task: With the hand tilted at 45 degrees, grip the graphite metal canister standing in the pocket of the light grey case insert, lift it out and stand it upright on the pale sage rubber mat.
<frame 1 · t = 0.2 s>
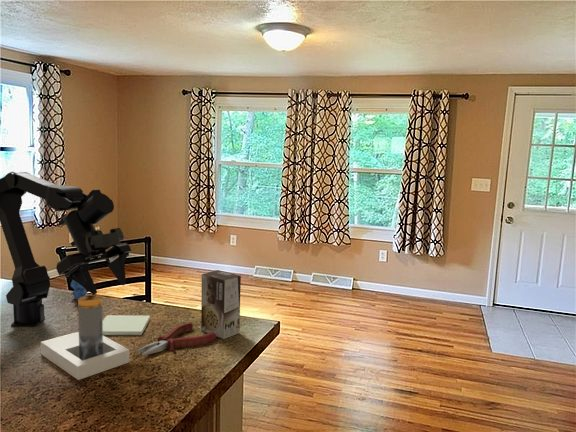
hand: (110, 289, 115), 14 cm above the worktop, tool tilted 35°, fingers open, 9 cm apart
case insert: (84, 358, 109), on the worktop
coffee box: (220, 332, 128), on the worktop
mat: (123, 326, 129), on the worktop
grapes: (82, 300, 150), on the worktop
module: (91, 362, 107), resting in case insert
pliers: (173, 344, 121), on the worktop
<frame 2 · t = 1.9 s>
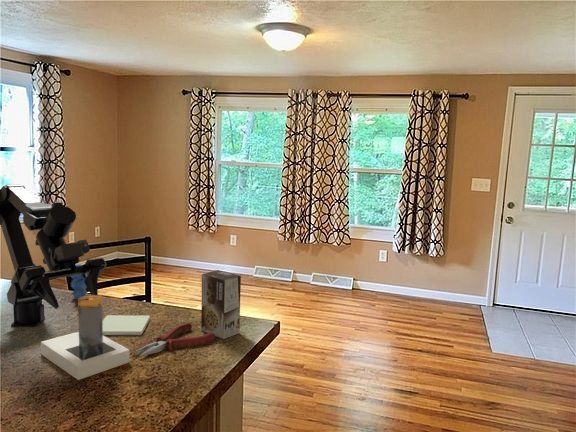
hand: (77, 303, 109), 12 cm above the worktop, tool tilted 45°, fingers open, 9 cm apart
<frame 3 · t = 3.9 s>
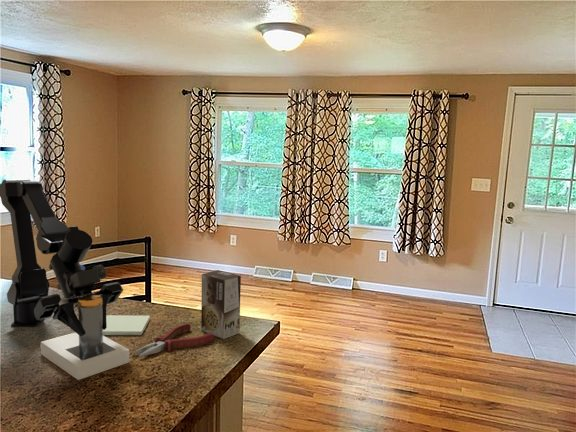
hand: (93, 332, 105), 8 cm above the worktop, tool tilted 45°, fingers closed on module, 5 cm apart
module: (91, 362, 107), resting in case insert, touching gripper
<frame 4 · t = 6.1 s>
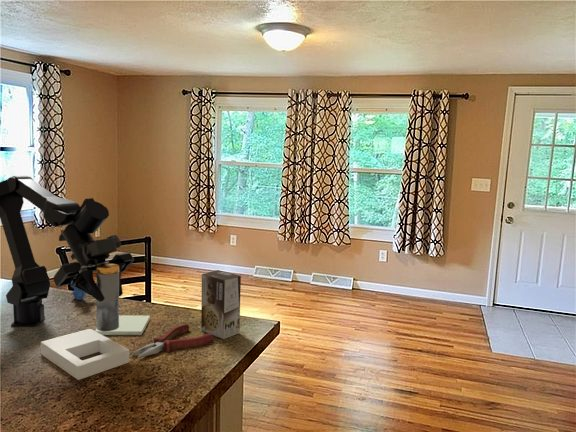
hand: (111, 297, 111), 13 cm above the worktop, tool tilted 45°, fingers closed on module, 5 cm apart
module: (107, 327, 113), point 6 cm above the worktop, touching gripper
when the fingers open (10 cm above the worktop, at t = 8.5 s): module drops 1 cm, resting on mat.
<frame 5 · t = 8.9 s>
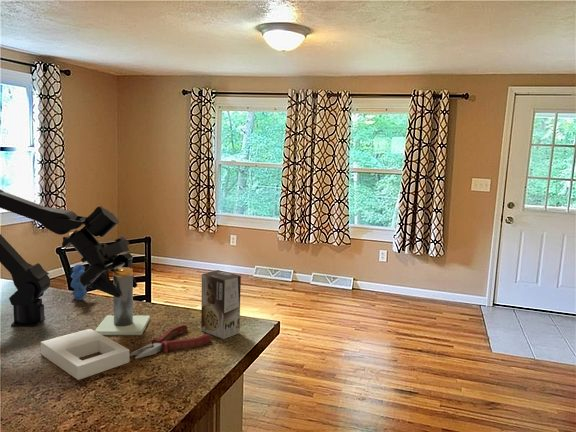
hand: (128, 291, 128), 10 cm above the worktop, tool tilted 45°, fingers open, 9 cm apart
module: (123, 322, 129), point 1 cm above the worktop, touching mat
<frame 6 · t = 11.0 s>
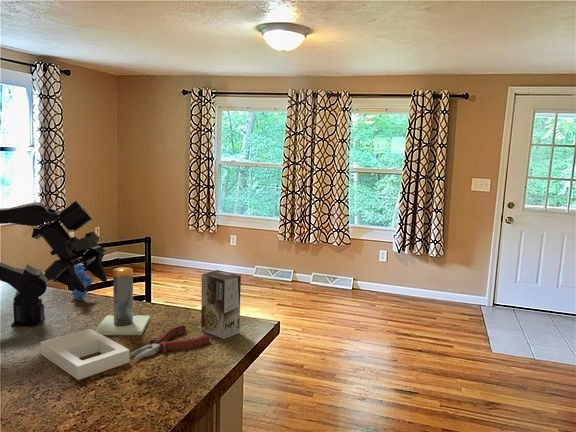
hand: (95, 286, 128), 11 cm above the worktop, tool tilted 40°, fingers open, 9 cm apart
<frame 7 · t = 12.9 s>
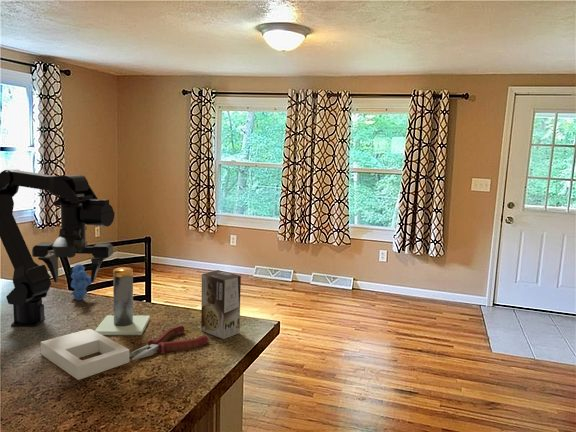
hand: (74, 282, 124), 13 cm above the worktop, tool pointing down, fingers open, 9 cm apart
at the end: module 0.1 cm off-centre on the mat, point 1.0 cm above the mat's base; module tilted 0°; the gripper is holding nothing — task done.
